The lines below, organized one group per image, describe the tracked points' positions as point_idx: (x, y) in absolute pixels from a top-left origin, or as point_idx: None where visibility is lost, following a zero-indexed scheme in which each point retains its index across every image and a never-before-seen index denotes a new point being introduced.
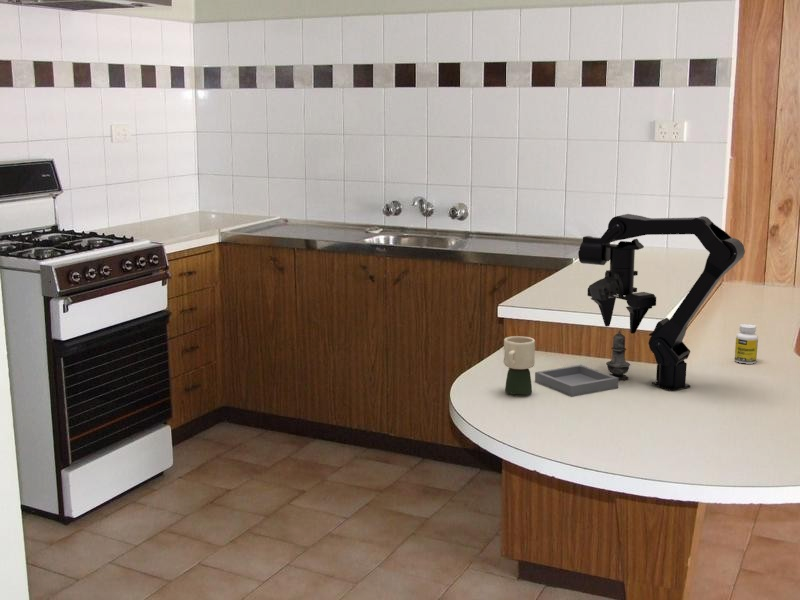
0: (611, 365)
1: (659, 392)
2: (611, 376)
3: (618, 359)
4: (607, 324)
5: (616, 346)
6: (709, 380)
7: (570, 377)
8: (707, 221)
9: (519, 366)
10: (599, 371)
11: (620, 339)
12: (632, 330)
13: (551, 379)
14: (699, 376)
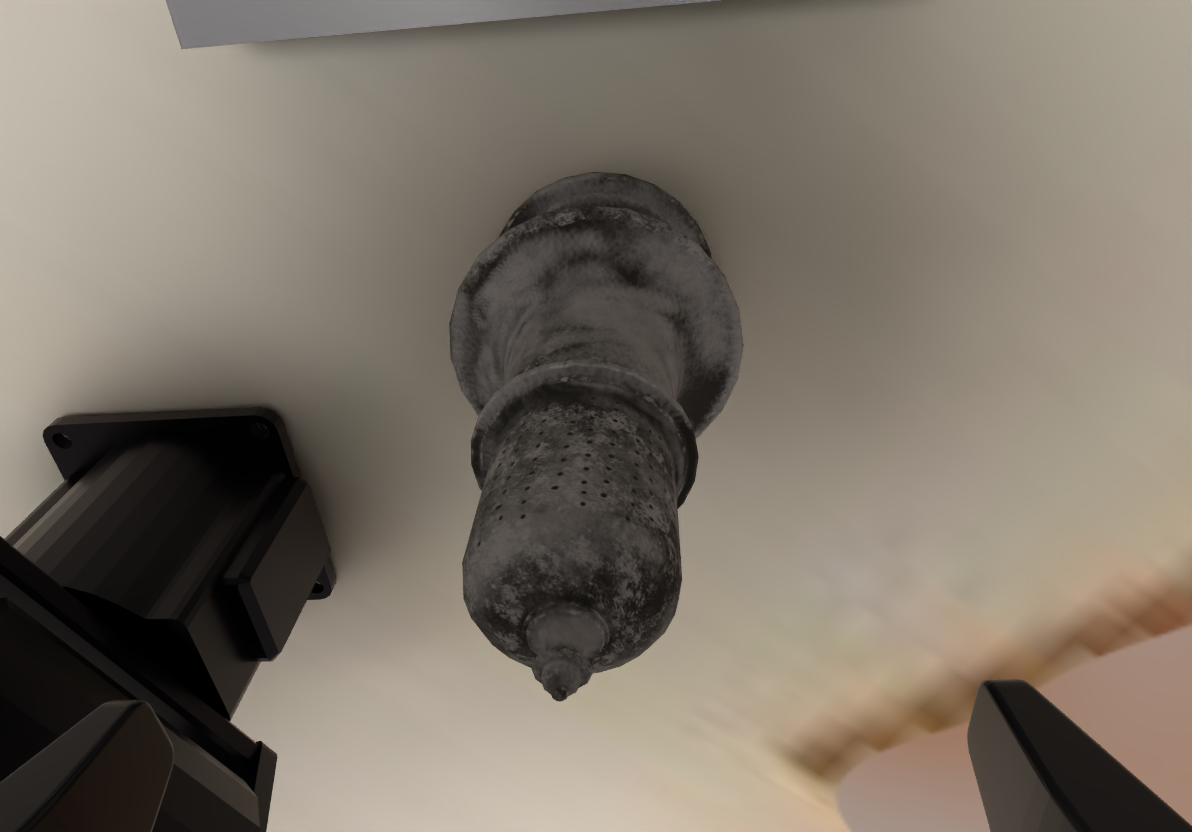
0: (550, 226)
1: (39, 322)
2: (267, 3)
3: (521, 343)
4: (991, 740)
5: (534, 424)
6: (292, 761)
7: None
8: None
9: None
10: (547, 5)
11: (469, 540)
12: (45, 763)
13: None
14: (396, 769)
